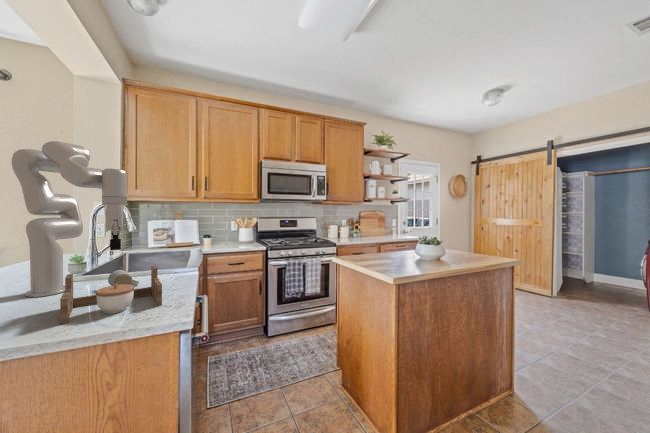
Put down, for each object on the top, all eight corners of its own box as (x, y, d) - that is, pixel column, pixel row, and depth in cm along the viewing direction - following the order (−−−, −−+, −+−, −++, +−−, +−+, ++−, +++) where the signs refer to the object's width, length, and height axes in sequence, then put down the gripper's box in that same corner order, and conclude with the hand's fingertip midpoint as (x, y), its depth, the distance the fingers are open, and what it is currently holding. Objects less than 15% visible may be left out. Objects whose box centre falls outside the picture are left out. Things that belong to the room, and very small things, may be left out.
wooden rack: (67, 307, 95) (67, 274, 95) (155, 293, 112) (155, 265, 112) (60, 324, 81) (60, 286, 81) (161, 305, 99) (161, 273, 98)
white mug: (113, 291, 113) (114, 274, 113) (107, 288, 118) (107, 271, 118) (141, 286, 122) (142, 270, 122) (135, 283, 127) (135, 267, 127)
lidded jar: (113, 317, 87) (113, 289, 87) (87, 314, 89) (87, 287, 89) (141, 306, 98) (141, 281, 97) (118, 303, 100) (118, 279, 99)
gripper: (102, 201, 103) (103, 248, 104) (101, 201, 92) (102, 253, 92) (126, 202, 108) (126, 246, 108) (128, 201, 96) (128, 251, 97)
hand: (115, 249), depth 100 cm, fingers closed
